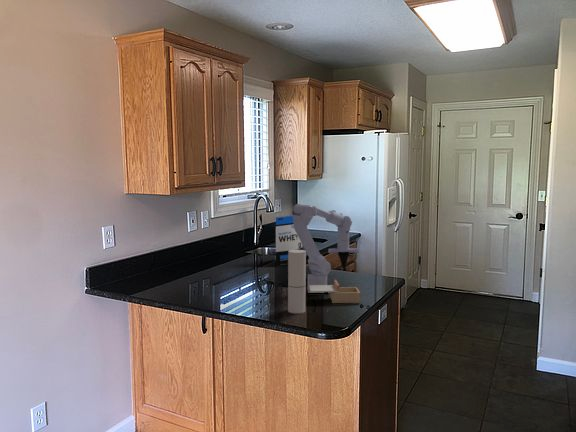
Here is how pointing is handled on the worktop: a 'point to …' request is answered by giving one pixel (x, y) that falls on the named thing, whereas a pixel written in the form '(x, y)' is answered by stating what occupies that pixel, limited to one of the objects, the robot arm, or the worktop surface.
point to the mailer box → (346, 295)
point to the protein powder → (285, 239)
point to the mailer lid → (325, 287)
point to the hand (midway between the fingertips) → (343, 267)
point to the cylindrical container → (296, 281)
